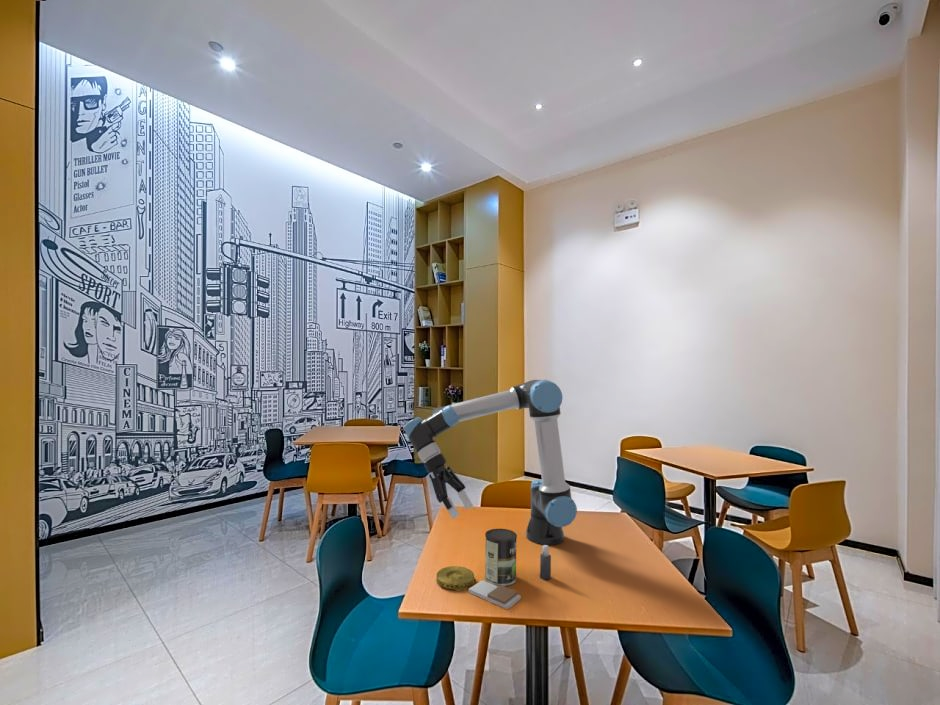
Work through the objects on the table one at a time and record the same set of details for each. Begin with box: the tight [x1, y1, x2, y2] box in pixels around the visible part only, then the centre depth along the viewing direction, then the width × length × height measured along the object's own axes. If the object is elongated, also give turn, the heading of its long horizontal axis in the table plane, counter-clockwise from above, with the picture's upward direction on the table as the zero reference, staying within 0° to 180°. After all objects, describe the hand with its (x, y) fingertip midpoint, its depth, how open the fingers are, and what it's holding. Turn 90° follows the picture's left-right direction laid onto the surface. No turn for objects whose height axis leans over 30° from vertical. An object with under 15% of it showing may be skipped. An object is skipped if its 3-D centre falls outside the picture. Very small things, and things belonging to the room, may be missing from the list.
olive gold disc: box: [436, 565, 475, 592], centre depth 131 cm, size 12×12×2 cm
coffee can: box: [484, 528, 518, 587], centre depth 133 cm, size 10×10×14 cm
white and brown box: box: [468, 580, 522, 610], centre depth 122 cm, size 7×14×2 cm, turn 52°
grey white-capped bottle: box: [539, 544, 552, 581], centre depth 134 cm, size 3×3×10 cm
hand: (463, 512), depth 141 cm, fingers open, 13 cm apart
